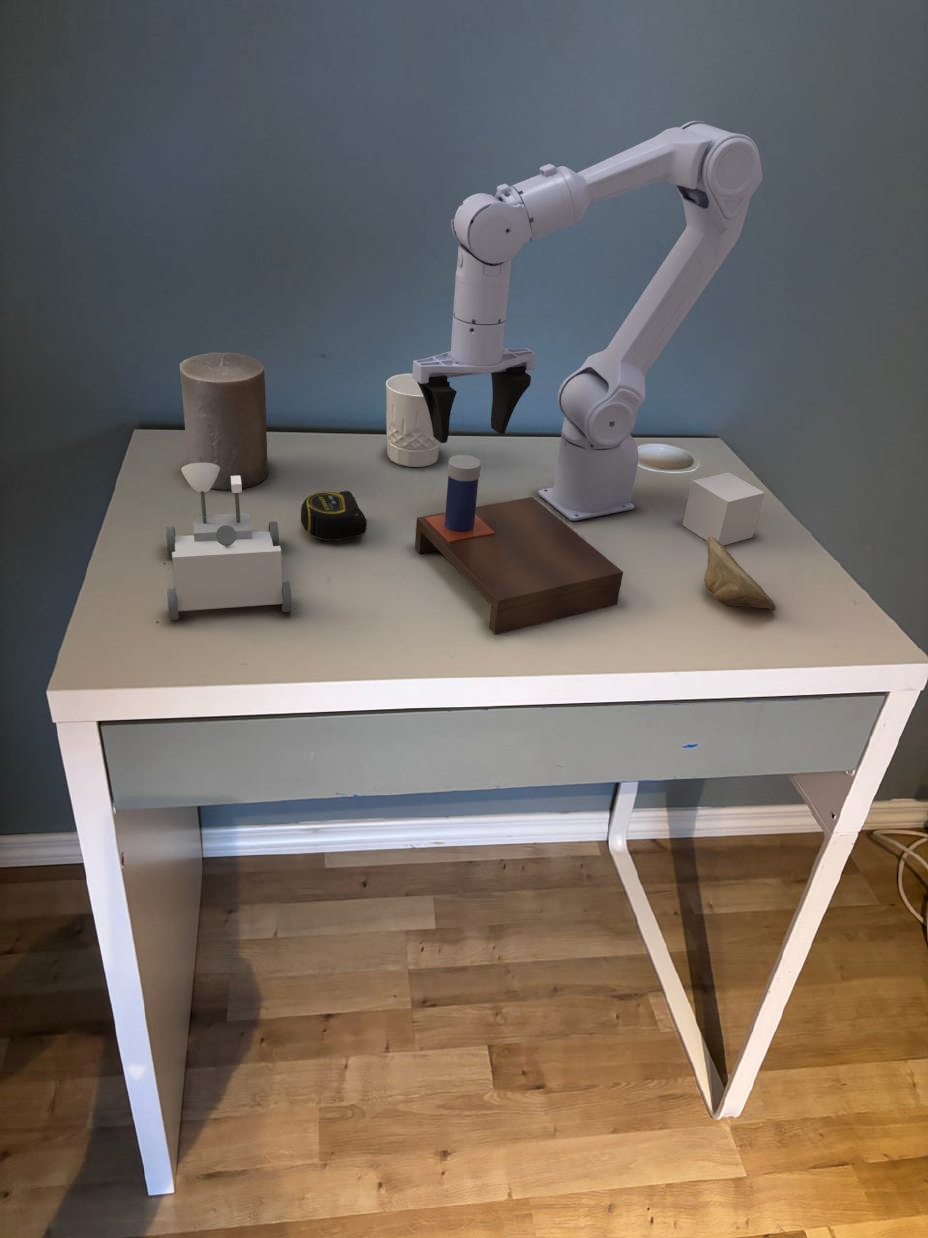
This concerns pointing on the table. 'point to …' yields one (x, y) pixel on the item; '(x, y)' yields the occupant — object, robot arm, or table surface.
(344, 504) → the tape measure
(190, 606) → the toy car
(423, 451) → the white cup
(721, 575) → the samosa
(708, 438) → the table surface
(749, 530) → the white cube
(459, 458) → the glue stick
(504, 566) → the desk shelf
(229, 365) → the pillar candle
